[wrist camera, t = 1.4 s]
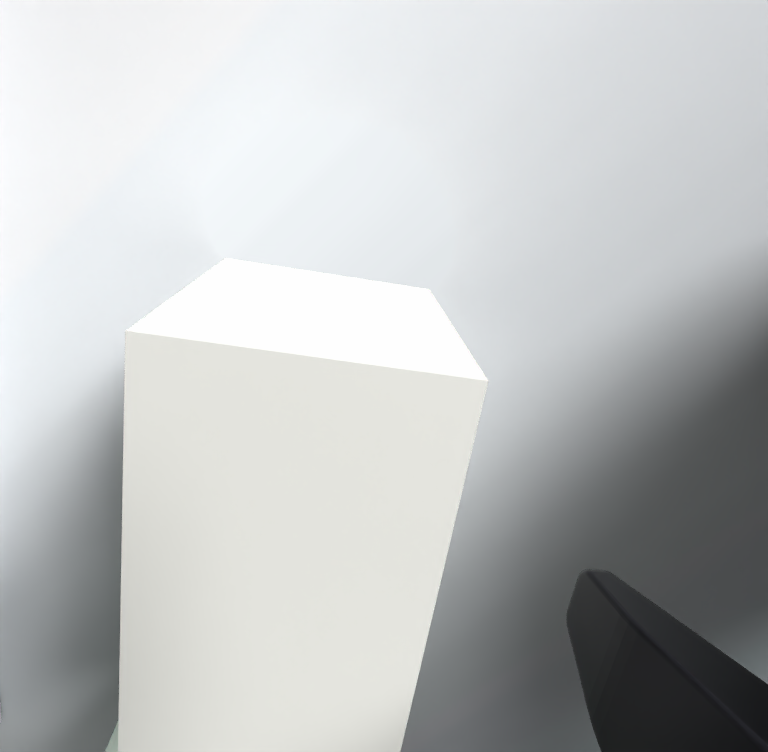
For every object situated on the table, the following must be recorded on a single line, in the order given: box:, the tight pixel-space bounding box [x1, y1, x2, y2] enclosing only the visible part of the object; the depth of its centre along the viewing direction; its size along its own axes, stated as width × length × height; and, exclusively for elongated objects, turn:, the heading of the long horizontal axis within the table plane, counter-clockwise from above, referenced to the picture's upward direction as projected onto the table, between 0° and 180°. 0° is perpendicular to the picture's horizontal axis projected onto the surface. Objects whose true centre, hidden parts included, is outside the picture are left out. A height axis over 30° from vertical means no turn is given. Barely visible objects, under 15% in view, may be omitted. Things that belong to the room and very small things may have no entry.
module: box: [118, 258, 488, 752], centre depth 11 cm, size 4×7×6 cm, turn 171°
